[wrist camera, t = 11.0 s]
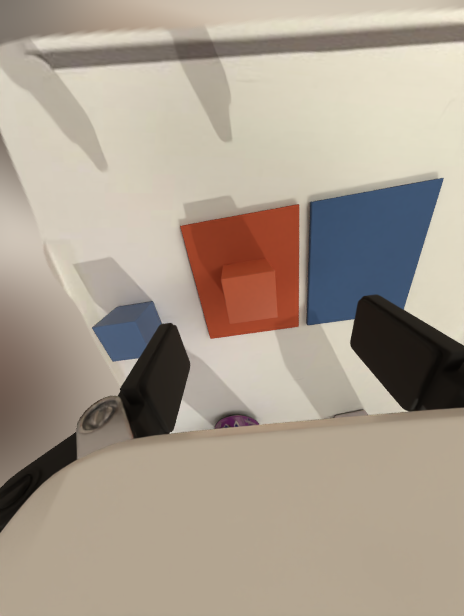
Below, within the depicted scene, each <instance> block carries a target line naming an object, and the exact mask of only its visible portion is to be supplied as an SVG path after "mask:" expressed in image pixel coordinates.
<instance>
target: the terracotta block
mask: <svg viewBox="0 0 464 616" xmlns="http://www.w3.org/2000/svg"><path fill="white" fill-rule="evenodd" d="M221 282H222V287H223V292H224V297H225V302H226V307H227V312H228V317H229V322H230V324H234V323H241V322H248V321H255V320H262V319H269V318H276V317H278V316H277V299H276V281H275V270H274V269H273V268H272V266H271V265H270V264H269V262H268V261H267V260H266V259H259V260H253V261H247V262H241V263H235V264H229V265H223V269H222V276H221Z"/></svg>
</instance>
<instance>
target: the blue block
mask: <svg viewBox="0 0 464 616" xmlns="http://www.w3.org/2000/svg"><path fill="white" fill-rule="evenodd" d="M161 324H162V323H161V321H160V318H159V316H158V313H157V311H156V308H155V306H154V303H153V301H152V302H145V303H139V304H133V305H126V306H120V307H116V308H115V309H114V310H113V311H111V312H110V313H109V314H108V315H107V316H105V317H104V318H103V319H102V320H101V321H99V322H98V323H97V324H96V325H95V326H93V327H92V329H93V330H94V332H95V334H96V335H97V337H98V339H99V340H100V342H101V343H102V345H103V347H104V348H105V350H106V351H107V353H108V355H109V356H110V358H111V359H112V361H121V360H128V359H136V358H139V357H140V356H141V354H142V353H143V351H144V349H145V348H146V346H147V345H148V343H149V341H150V340H151V338H152V336H153V335H154V333H155V332H156V330H157V328H158V327H159V325H161Z"/></svg>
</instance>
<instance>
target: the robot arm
mask: <svg viewBox="0 0 464 616" xmlns="http://www.w3.org/2000/svg"><path fill="white" fill-rule="evenodd" d="M350 344H351V347H352V349H353V350H354V352H355V353H356V354H357V355H358V356H359V357H360V359H361V360H362V361H363V362H364V363H365V365H366V366H367V367H368V368H369V369H370V370H371V372H372V373H373V374H374V375H375V376H376V378H377V379H378V380H379V381H380V382H381V384H382V385H383V386H384V387H385V388H386V389H387V391H388V392H389V393H390V394H391V395H392V397H393V398H394V399H395V400H396V401H397V402H398V404H399V405H400V406H401V407H402V408H403V409H404V410H407V411H409V412H400V413H388V414H376V415H364V416H352V417H341V418H330V419H318V420H307V421H296V422H285V423H274V424H263V425H252V426H242V427H231V428H221V429H210V430H200V431H190V432H181V433H172V434H169V433H170V432H172V431H173V429H174V426H175V423H176V419H177V415H178V411H179V408H180V404H181V400H182V396H183V393H184V389H185V385H186V381H187V377H188V374H189V370H190V361H189V358H188V356H187V353H186V350H185V348H184V345H183V342H182V340H181V337H180V334H179V332H178V329H177V327H176V325H173V324H172V323H167V324H161V325H159V327H158V328H157V330H156V332H155V333H154V335H153V336H152V338H151V340H150V341H149V343H148V345H147V346H146V348H145V349H144V351H143V353H142V354H141V356H140V357H139V359H138V361H137V362H136V364H135V365H134V367H133V369H132V370H131V372H130V374H129V375H128V377H127V378H126V380H125V382H124V383H123V385H122V386H121V388H120V393H119V395H118V396H108V397H105V398H103V399H101V400H99V401H97V402H96V403H94V404H93V405H91V406H90V407H89V408H88V409H87V410H86V411H85V412H84V414H83V415H82V416H81V417H80V419H79V421H78V423H77V428H76V432H75V433H74V434H73V435H71V436H70V437H68V438H67V439H65V440H64V441H62V442H61V443H60V444H58V445H57V446H55V447H54V448H52V449H51V450H49V451H48V452H47V453H45V454H44V455H42V456H41V457H39V458H38V459H37V460H35V461H34V462H32V463H31V464H29V465H28V466H26V467H25V468H24V469H22V470H21V471H19V472H18V473H17V474H15V476H13V477H12V478H10V479H9V480H8V481H7V482H6V483H5V484H4V485H3V486H2V487H1V488H0V616H464V346H463V345H462V344H460V343H458V342H457V341H455V340H453V339H452V338H450V337H448V336H447V335H445V334H443V333H442V332H440V331H438V330H437V329H435V328H433V327H432V326H430V325H428V324H427V323H425V322H423V321H422V320H420V319H418V318H417V317H415V316H413V315H412V314H410V313H408V312H407V311H405V310H403V309H401V308H400V307H398V306H396V305H395V304H393V303H391V302H390V301H388V300H386V299H385V298H383V297H381V296H380V295H377V294H375V295H368V296H363V297H362V298H361V299H360V300H359V301H358V303H357V309H356V314H355V320H354V325H353V330H352V336H351V341H350Z"/></svg>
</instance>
